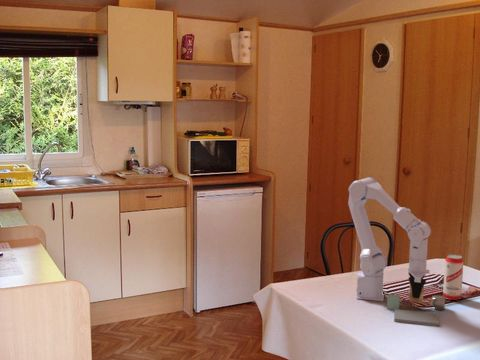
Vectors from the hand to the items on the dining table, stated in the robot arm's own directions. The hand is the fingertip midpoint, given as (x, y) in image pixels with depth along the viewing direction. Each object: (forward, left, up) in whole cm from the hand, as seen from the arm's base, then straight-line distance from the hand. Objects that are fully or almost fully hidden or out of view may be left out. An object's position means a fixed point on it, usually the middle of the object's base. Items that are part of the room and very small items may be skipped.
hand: (415, 294), depth 191 cm
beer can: (+13, +13, -5) cm, 19 cm away
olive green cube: (-7, -1, -5) cm, 9 cm away
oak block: (0, 0, -2) cm, 2 cm away
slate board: (0, -9, -5) cm, 10 cm away
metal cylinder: (+8, +2, -5) cm, 9 cm away
